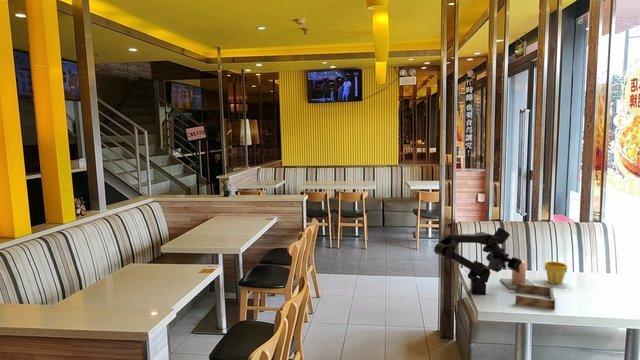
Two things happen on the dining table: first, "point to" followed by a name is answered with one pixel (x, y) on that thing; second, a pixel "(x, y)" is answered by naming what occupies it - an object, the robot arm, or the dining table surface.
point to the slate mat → (510, 285)
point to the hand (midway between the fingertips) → (511, 269)
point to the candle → (519, 274)
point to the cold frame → (532, 300)
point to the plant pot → (555, 271)
